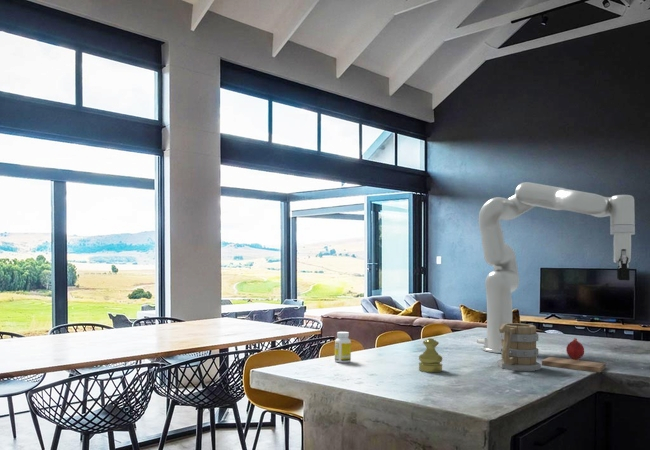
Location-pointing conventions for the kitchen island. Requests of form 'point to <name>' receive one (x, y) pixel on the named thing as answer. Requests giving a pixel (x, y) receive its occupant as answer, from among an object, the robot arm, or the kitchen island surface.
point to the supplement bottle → (342, 348)
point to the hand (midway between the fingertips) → (623, 279)
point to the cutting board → (574, 364)
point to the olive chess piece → (430, 357)
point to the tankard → (518, 347)
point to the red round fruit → (575, 349)
